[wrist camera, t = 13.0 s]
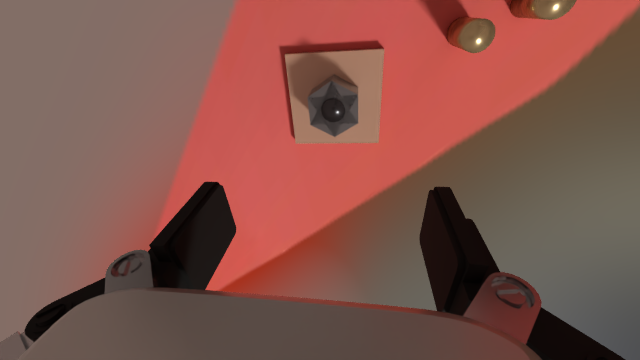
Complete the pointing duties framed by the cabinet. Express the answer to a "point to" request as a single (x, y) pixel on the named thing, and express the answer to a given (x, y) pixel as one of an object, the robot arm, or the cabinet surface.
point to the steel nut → (333, 105)
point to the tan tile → (349, 66)
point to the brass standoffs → (479, 33)
